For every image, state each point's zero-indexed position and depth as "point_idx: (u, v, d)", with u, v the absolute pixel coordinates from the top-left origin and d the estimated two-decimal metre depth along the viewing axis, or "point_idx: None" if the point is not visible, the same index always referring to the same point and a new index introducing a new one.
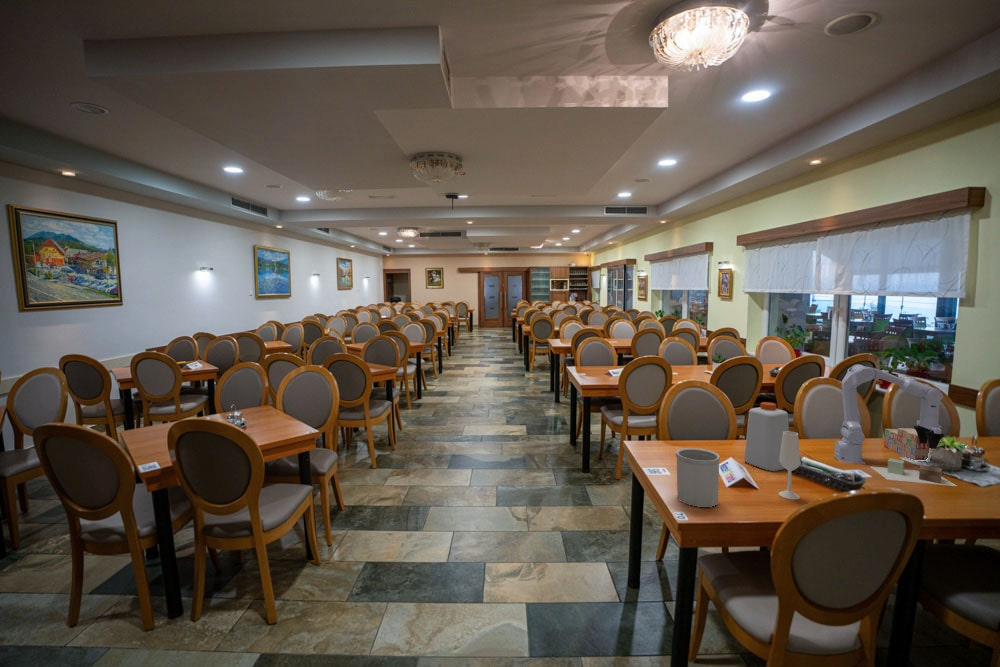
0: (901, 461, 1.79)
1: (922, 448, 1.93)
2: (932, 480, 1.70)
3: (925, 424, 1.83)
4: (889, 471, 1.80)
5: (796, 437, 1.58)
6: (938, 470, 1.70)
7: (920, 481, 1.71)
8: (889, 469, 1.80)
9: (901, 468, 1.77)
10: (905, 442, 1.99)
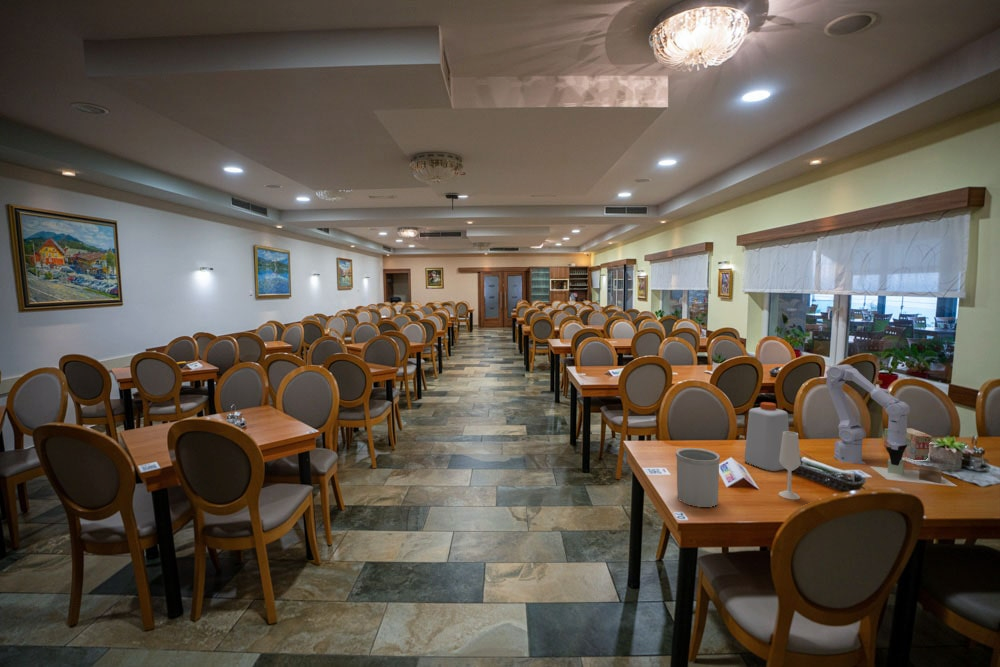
0: (901, 461, 1.79)
1: (922, 447, 1.93)
2: (932, 480, 1.70)
3: (890, 440, 1.80)
4: (889, 471, 1.80)
5: (796, 437, 1.58)
6: (938, 470, 1.70)
7: (920, 481, 1.71)
8: (889, 469, 1.80)
9: (901, 468, 1.77)
10: None
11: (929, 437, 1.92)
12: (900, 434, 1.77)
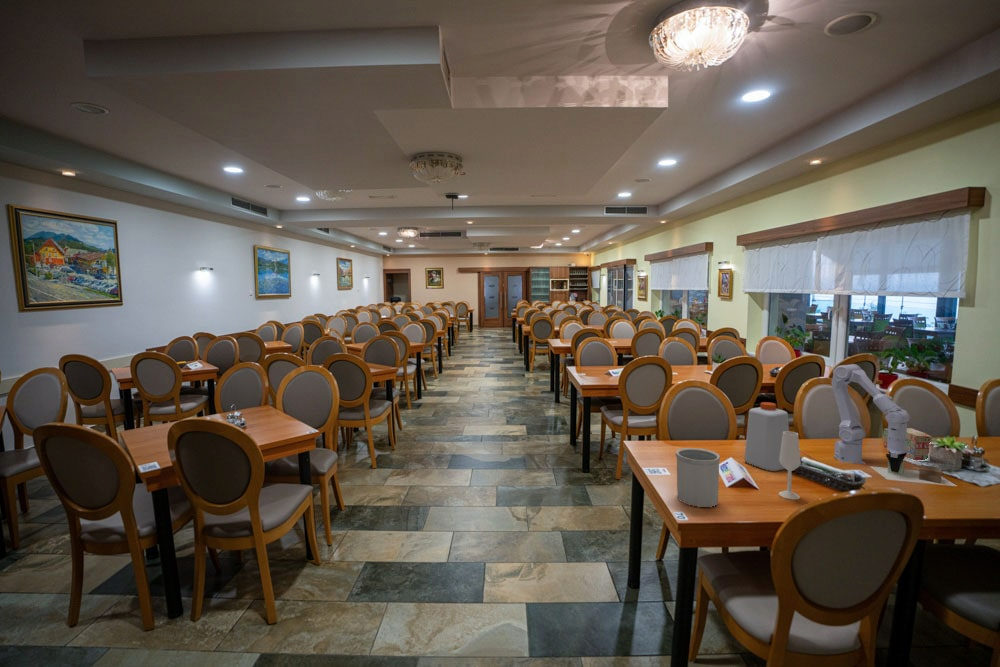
0: None
1: (921, 447, 1.93)
2: (932, 480, 1.70)
3: (889, 447, 1.80)
4: (889, 471, 1.80)
5: (796, 437, 1.58)
6: (938, 470, 1.70)
7: (920, 481, 1.71)
8: (889, 469, 1.80)
9: (901, 468, 1.77)
10: None
11: (929, 437, 1.92)
12: (900, 442, 1.77)
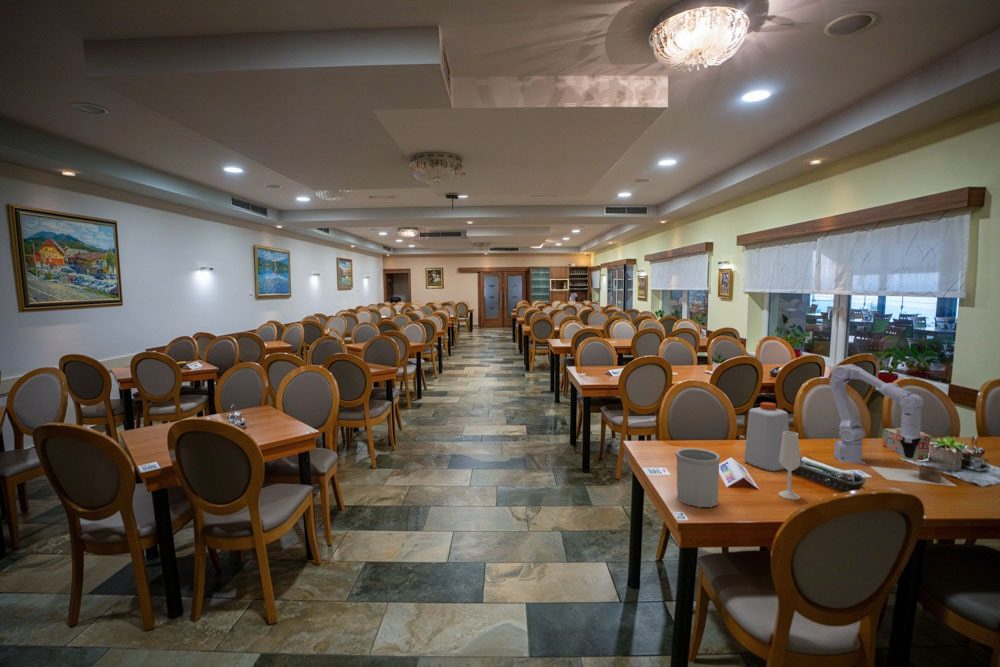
0: None
1: (921, 447, 1.93)
2: (932, 480, 1.70)
3: (903, 433, 1.77)
4: (903, 457, 1.77)
5: (796, 437, 1.58)
6: (938, 470, 1.70)
7: (920, 481, 1.71)
8: (902, 455, 1.77)
9: (915, 454, 1.74)
10: None
11: (928, 437, 1.92)
12: (914, 427, 1.74)
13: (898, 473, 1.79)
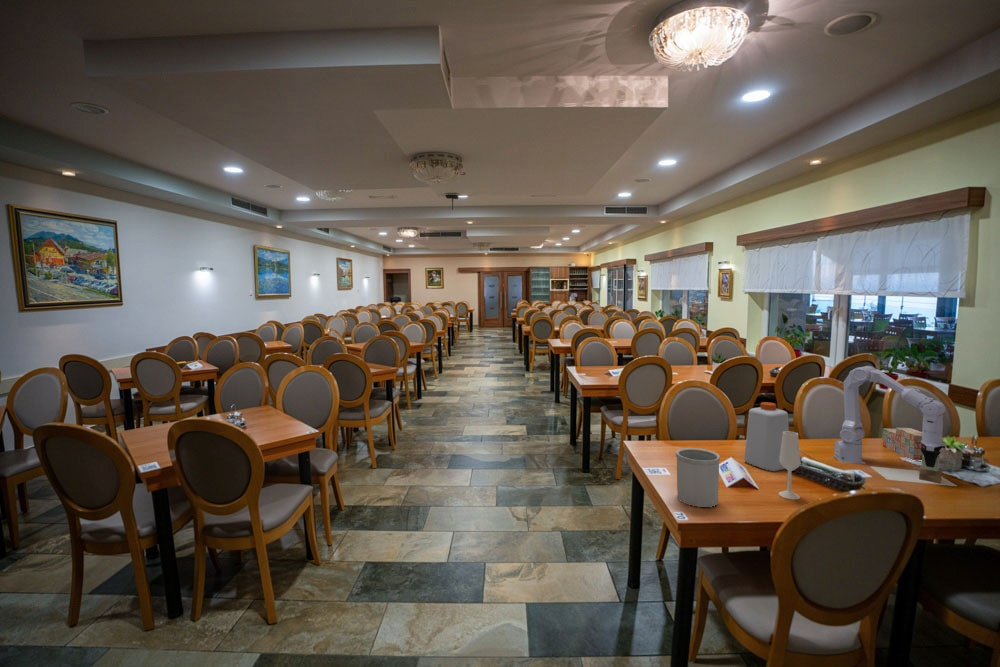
0: None
1: (920, 447, 1.93)
2: (932, 480, 1.70)
3: (924, 440, 1.72)
4: (923, 467, 1.72)
5: (796, 437, 1.58)
6: (938, 470, 1.70)
7: (920, 481, 1.71)
8: (923, 465, 1.72)
9: (937, 464, 1.69)
10: (904, 441, 2.00)
11: None
12: (936, 435, 1.69)
13: (898, 473, 1.79)
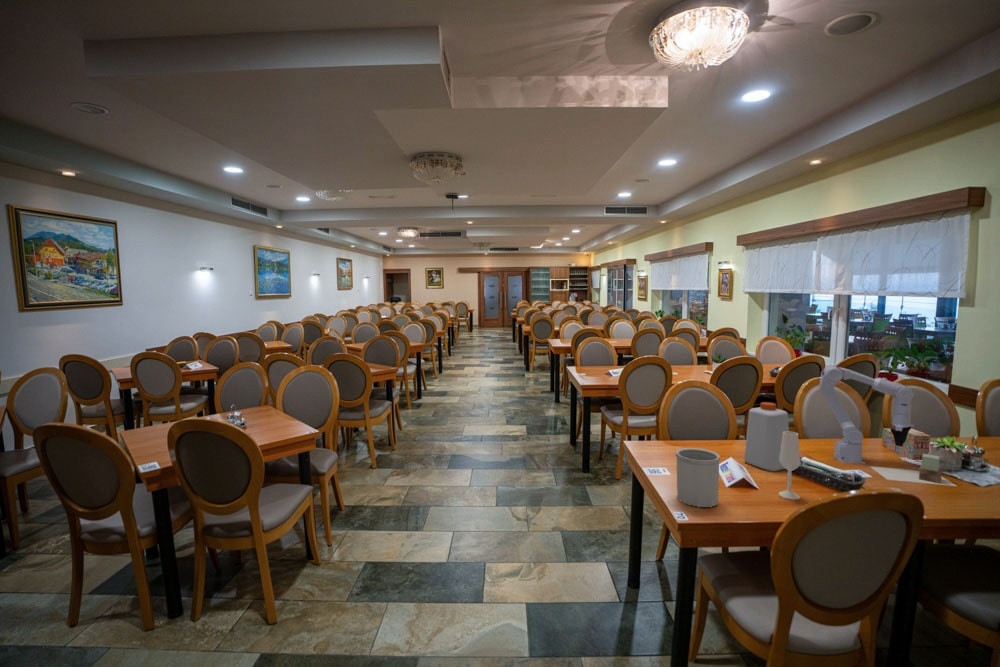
0: (936, 457, 1.71)
1: (920, 447, 1.93)
2: (932, 480, 1.70)
3: (894, 422, 1.86)
4: (923, 467, 1.72)
5: (796, 437, 1.58)
6: (938, 470, 1.70)
7: (920, 481, 1.71)
8: (923, 465, 1.72)
9: (937, 464, 1.69)
10: None
11: (927, 437, 1.93)
12: (904, 416, 1.83)
13: (898, 473, 1.79)
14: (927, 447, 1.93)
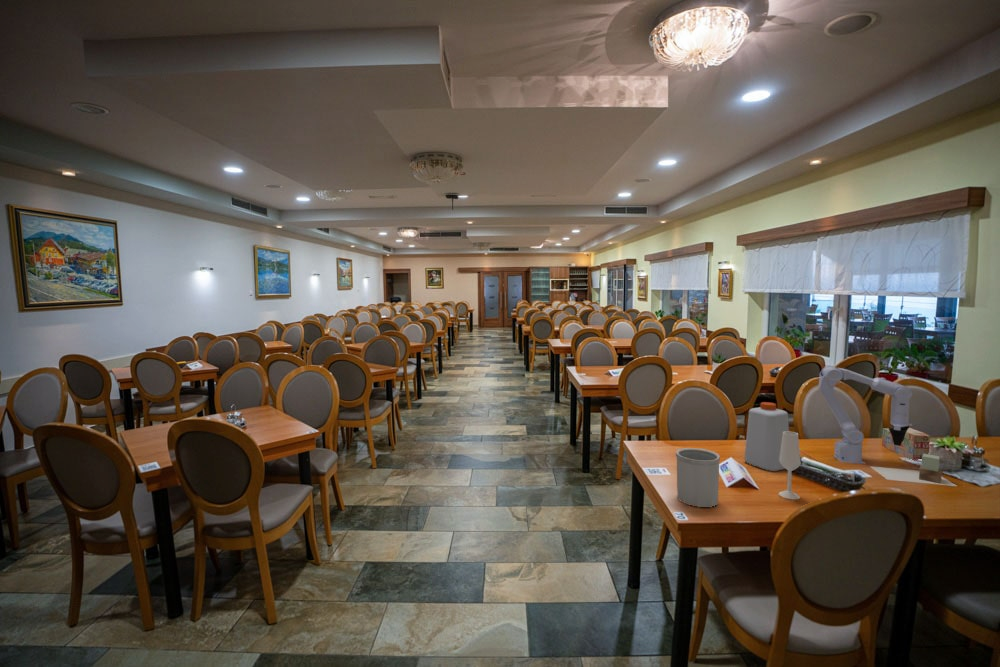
0: (936, 457, 1.71)
1: (920, 447, 1.94)
2: (932, 480, 1.70)
3: (892, 421, 1.87)
4: (923, 467, 1.72)
5: (796, 437, 1.58)
6: (938, 470, 1.70)
7: (920, 481, 1.71)
8: (923, 465, 1.72)
9: (937, 464, 1.69)
10: (903, 441, 2.00)
11: (927, 436, 1.93)
12: (902, 415, 1.84)
13: (898, 473, 1.79)
14: (927, 447, 1.93)
